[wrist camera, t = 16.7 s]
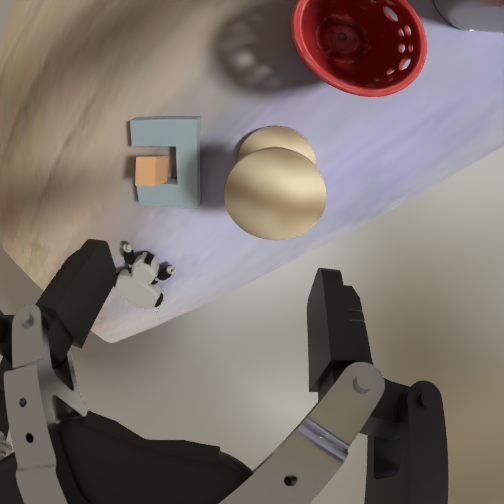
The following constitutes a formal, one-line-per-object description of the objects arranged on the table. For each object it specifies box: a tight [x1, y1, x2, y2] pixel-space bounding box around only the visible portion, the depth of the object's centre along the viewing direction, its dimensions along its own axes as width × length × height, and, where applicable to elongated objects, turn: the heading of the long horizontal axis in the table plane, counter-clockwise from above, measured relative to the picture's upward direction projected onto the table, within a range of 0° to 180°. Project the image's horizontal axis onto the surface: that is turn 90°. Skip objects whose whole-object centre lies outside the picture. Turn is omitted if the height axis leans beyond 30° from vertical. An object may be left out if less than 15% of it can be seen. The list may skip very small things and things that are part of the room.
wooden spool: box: [224, 126, 326, 240], centre depth 33 cm, size 11×11×11 cm
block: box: [135, 155, 169, 186], centre depth 36 cm, size 4×3×5 cm
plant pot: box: [291, 0, 427, 97], centre depth 21 cm, size 13×13×12 cm
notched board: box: [130, 116, 201, 209], centre depth 38 cm, size 14×10×2 cm
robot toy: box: [114, 244, 176, 314], centre depth 53 cm, size 12×4×15 cm
